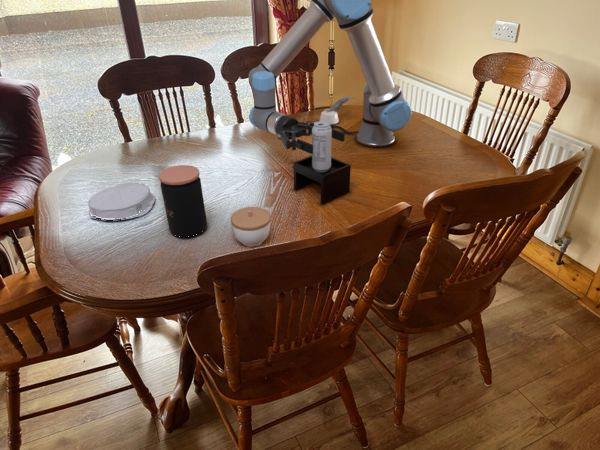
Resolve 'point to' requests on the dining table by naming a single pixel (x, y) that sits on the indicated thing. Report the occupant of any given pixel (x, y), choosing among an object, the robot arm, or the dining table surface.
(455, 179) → the dining table surface
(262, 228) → the trinket box
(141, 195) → the food container
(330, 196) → the stand
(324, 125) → the energy drink can
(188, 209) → the coffee jar
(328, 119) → the inkwell
